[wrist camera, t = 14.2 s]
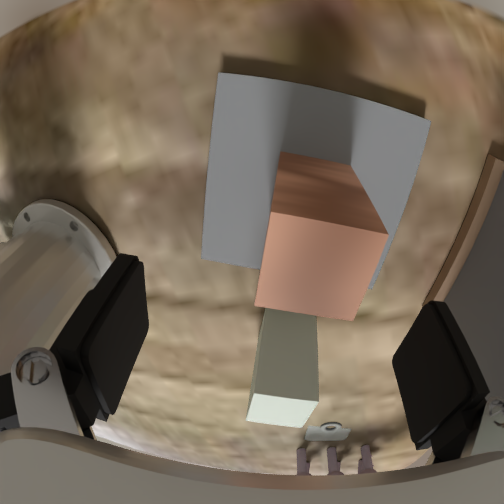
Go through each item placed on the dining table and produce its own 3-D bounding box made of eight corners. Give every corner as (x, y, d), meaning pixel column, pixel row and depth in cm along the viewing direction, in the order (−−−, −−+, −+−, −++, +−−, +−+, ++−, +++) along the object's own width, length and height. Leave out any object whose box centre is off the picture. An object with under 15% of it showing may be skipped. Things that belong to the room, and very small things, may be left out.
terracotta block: (269, 215, 19) (254, 305, 12) (280, 151, 16) (270, 212, 10) (334, 227, 19) (352, 320, 12) (350, 165, 16) (388, 234, 10)
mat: (204, 250, 22) (201, 258, 21) (222, 72, 15) (218, 72, 14) (369, 280, 21) (371, 289, 21) (424, 118, 15) (431, 121, 14)
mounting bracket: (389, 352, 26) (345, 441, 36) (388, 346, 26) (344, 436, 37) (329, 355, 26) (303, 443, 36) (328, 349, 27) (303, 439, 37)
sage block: (258, 338, 26) (245, 420, 19) (266, 305, 24) (254, 393, 17) (303, 346, 26) (301, 427, 19) (316, 313, 24) (318, 401, 17)
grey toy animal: (425, 433, 35) (433, 512, 24) (404, 454, 41) (408, 521, 30) (294, 444, 38) (288, 529, 27) (294, 463, 44) (288, 532, 33)
